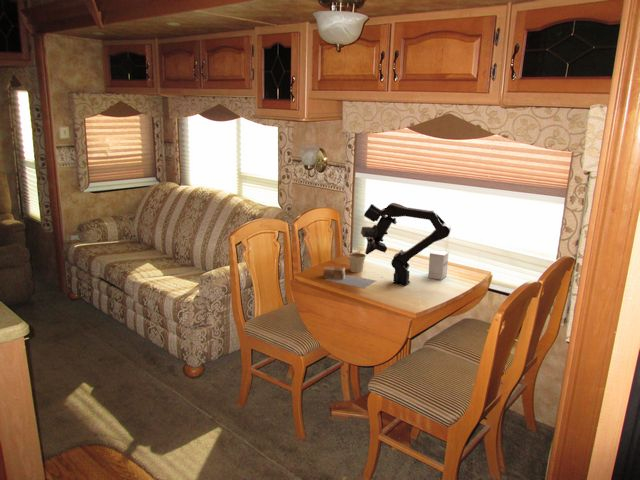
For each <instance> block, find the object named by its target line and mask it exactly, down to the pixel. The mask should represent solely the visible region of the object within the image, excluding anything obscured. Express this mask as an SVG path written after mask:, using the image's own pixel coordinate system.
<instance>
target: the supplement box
mask: <svg viewBox="0 0 640 480" xmlns="http://www.w3.org/2000/svg"><path fill="white" fill-rule="evenodd" d="M428 262H429V263H428V273H427V275H428V276H427V277H428V278H430V279H434V280H441V281H442V280H443V279H445V278H446V277H447V275H448V265H449V264H448V263H449V252H448V251H442V250H433V251H432V252H430V253H429V261H428Z"/></svg>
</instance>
